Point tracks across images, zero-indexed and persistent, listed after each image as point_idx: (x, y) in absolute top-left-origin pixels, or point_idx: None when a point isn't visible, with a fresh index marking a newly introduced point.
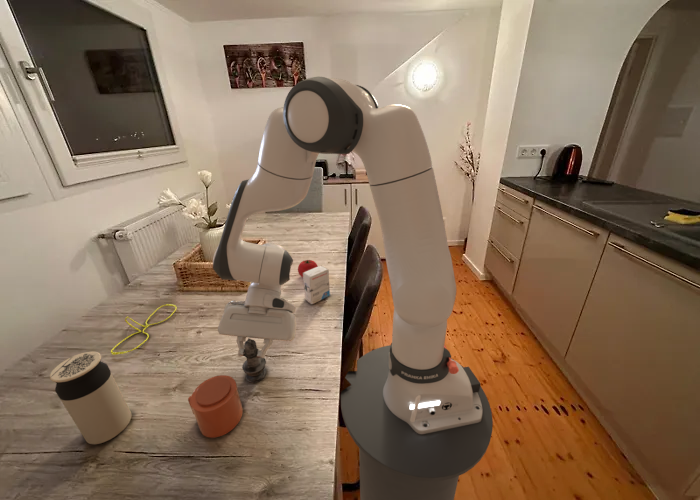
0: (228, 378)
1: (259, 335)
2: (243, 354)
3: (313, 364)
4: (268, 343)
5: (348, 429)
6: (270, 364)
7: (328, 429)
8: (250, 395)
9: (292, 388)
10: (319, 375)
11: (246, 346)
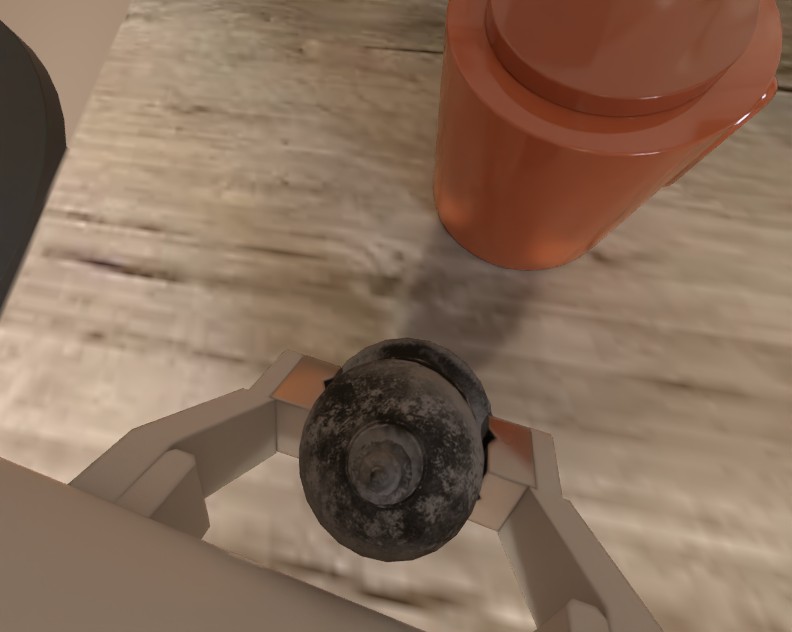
0: (537, 117)
1: (164, 583)
2: (486, 426)
3: (76, 436)
4: (126, 434)
5: (51, 116)
6: None
7: (103, 99)
8: (415, 280)
9: (211, 290)
10: (66, 349)
11: (428, 377)
